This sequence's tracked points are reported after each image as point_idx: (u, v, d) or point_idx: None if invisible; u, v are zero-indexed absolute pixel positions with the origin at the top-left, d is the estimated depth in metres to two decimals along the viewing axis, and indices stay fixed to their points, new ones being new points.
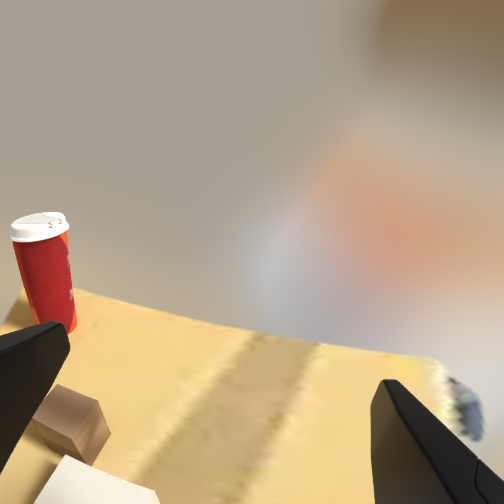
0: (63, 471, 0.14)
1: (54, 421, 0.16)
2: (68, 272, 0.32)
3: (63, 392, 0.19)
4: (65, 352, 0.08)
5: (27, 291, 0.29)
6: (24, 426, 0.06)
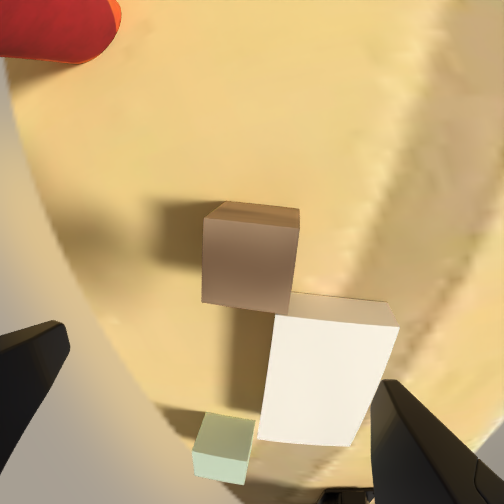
0: (283, 338, 0.17)
1: (246, 296, 0.15)
2: None
3: (226, 233, 0.14)
4: (65, 352, 0.08)
5: (10, 57, 0.10)
6: (24, 426, 0.06)
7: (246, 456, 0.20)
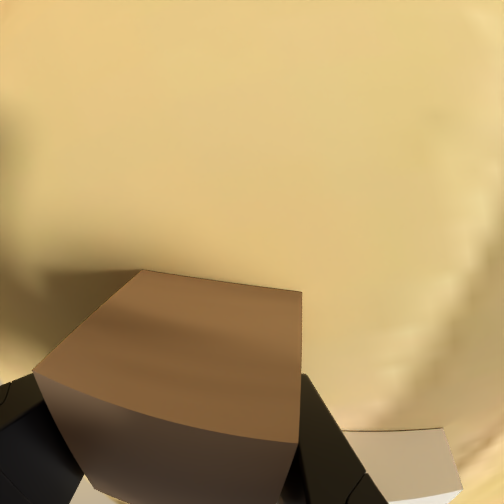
0: None
1: None
2: None
3: (90, 416, 0.04)
4: None
5: None
6: None
7: None
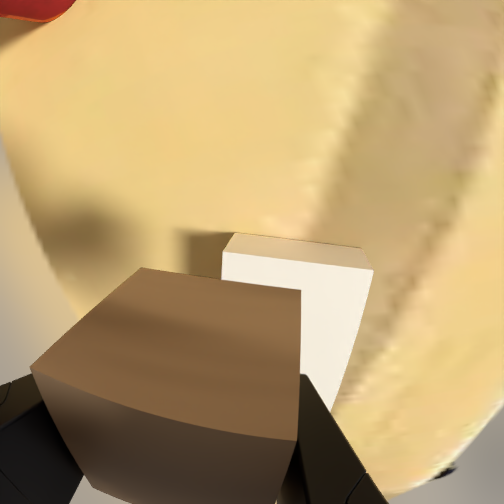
0: None
1: None
2: None
3: (87, 414, 0.04)
4: None
5: None
6: None
7: None
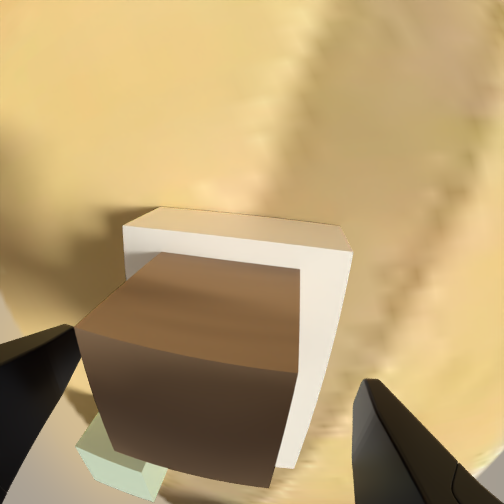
0: None
1: (186, 461, 0.06)
2: None
3: (124, 364, 0.05)
4: (77, 356, 0.08)
5: None
6: (36, 433, 0.06)
7: (142, 465, 0.13)
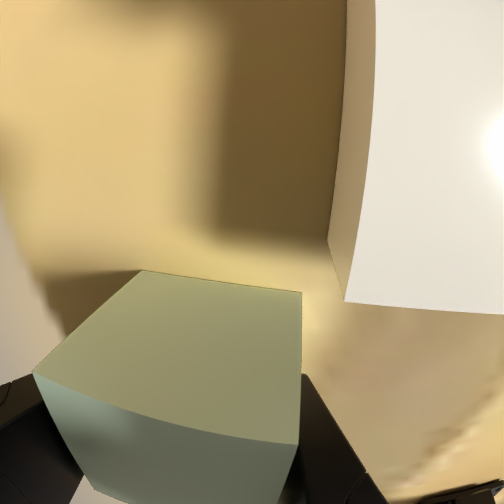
0: None
1: None
2: None
3: None
4: None
5: None
6: None
7: (289, 416, 0.04)
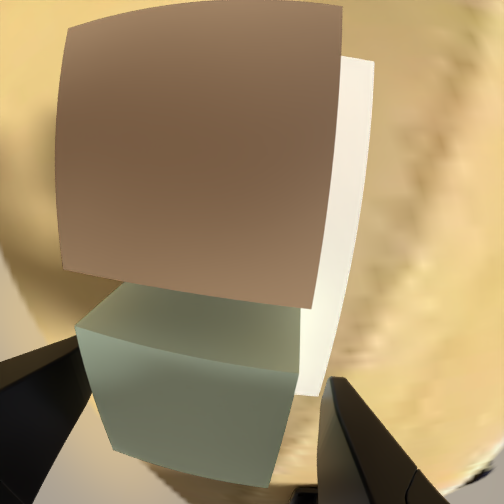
0: None
1: (171, 245, 0.04)
2: None
3: (116, 45, 0.03)
4: None
5: None
6: (60, 446, 0.06)
7: (291, 354, 0.05)
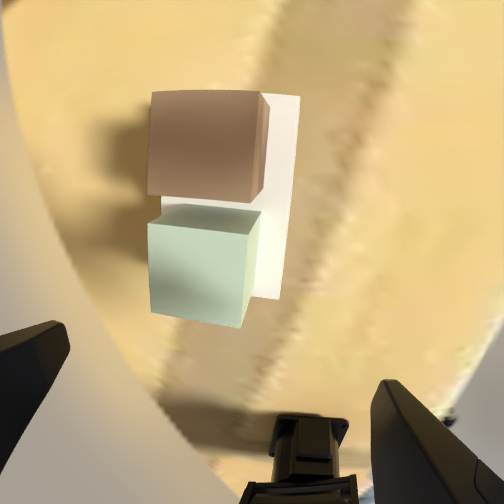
0: None
1: (198, 180, 0.12)
2: None
3: (176, 104, 0.11)
4: (65, 352, 0.08)
5: None
6: (24, 426, 0.06)
7: (246, 230, 0.12)
